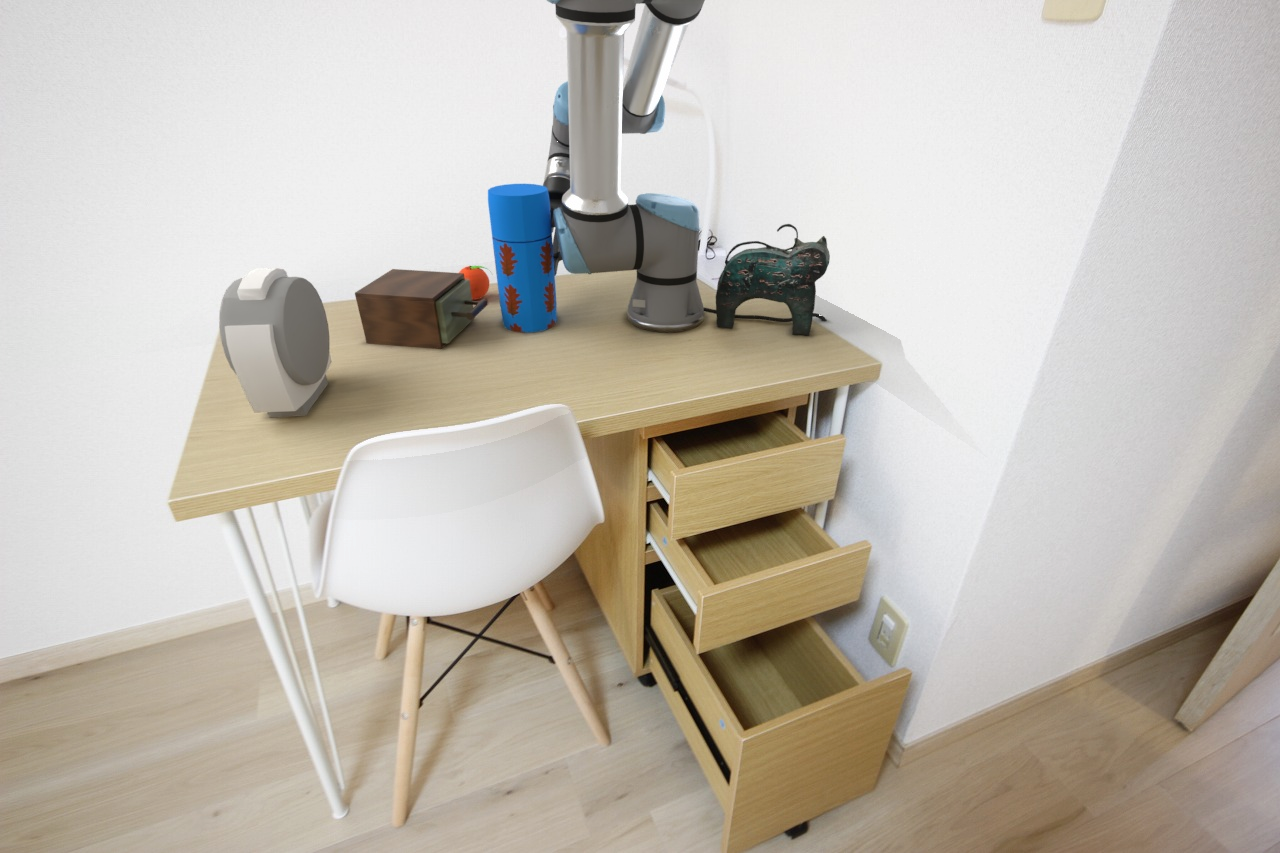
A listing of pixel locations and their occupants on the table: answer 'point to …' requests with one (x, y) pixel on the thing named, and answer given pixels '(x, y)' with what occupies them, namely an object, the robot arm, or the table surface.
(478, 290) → the clementine
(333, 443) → the table surface
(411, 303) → the cabinet
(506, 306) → the thermos
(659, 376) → the table surface
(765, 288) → the ceramic cat
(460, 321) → the drawer
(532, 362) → the table surface
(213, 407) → the table surface
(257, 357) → the alarm clock
